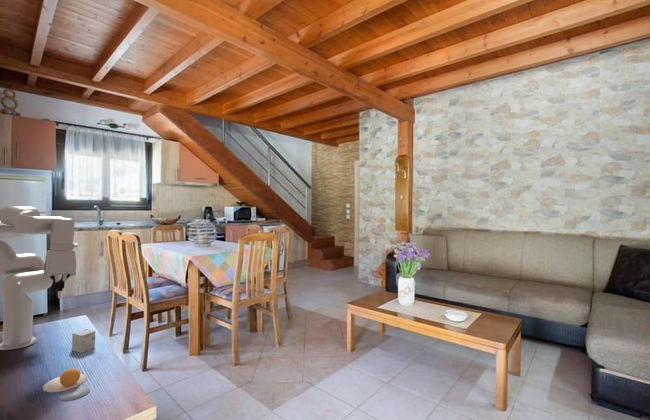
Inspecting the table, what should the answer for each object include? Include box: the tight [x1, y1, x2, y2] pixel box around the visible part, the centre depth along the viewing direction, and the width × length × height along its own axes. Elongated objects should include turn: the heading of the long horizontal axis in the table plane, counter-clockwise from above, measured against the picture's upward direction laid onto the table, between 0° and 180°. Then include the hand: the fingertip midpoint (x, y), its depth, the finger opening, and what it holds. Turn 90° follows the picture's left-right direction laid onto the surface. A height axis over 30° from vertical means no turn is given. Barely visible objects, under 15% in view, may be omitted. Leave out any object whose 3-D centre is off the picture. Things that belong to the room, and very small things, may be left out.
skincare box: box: [71, 328, 96, 353], centre depth 140 cm, size 6×6×7 cm
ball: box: [59, 368, 81, 387], centre depth 111 cm, size 6×6×6 cm
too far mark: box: [59, 386, 91, 402], centre depth 107 cm, size 8×8×1 cm
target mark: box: [42, 373, 88, 393], centre depth 113 cm, size 12×12×1 cm
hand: (59, 290), depth 135 cm, fingers closed
